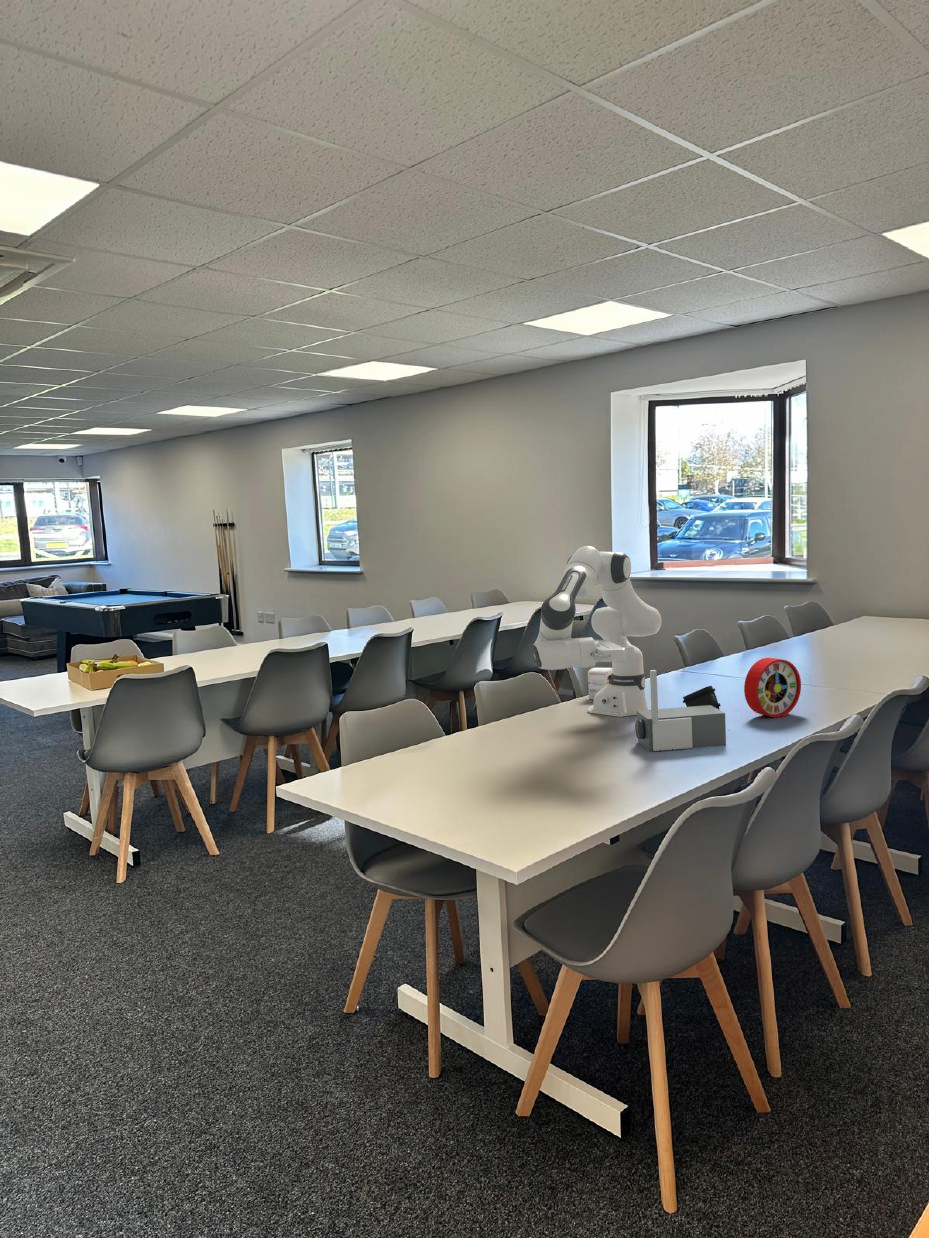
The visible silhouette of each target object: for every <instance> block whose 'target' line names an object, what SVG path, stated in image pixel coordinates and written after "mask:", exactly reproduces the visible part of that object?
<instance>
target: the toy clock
mask: <svg viewBox="0 0 929 1238" xmlns="http://www.w3.org/2000/svg"><path fill="white" fill-rule="evenodd" d="M743 685H744V687H743V692H744V693H743V694H744V698H745V701H746V703H747V705H748V707H749V708H750V709H751V711H753V712H754V713H756V714H759V715H762V716H767V717H771V718H776V717H777V718H781V717H780V716H782V717H785V716H786V715H788V714H789V713H791V711H793V709H795V707H796V706H797V704H798V701H799V699H800V696H801V693H802V692H801V691H802V679H801V676H800V672H799V671H798V669H797V667H796V666H795V664H793V663H792V662H790V661H789V660H786V659H782V658H776V657H763V658H760V659H759V660H757V661H755V663H753V665H752V666H751V667H750V669H748V672H747V674H746V677H745V680H744V683H743Z"/></svg>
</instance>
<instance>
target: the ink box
mask: <svg viewBox="0 0 929 1238" xmlns="http://www.w3.org/2000/svg"><path fill="white" fill-rule="evenodd" d="M612 673H613V667H591V668H590V669H589V670H588V671H587V682H588V683H587V684H588V685H587V686H588V700H590V699H593V701H594V697H595V695H596V694H597V693H598V692H599V691H600V690H601V689H603V688H604V687H605V686H606V685H607V684H609V679H608V680H607V677H608V676H609V675H611V674H612Z"/></svg>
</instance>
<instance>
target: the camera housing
mask: <svg viewBox="0 0 929 1238" xmlns="http://www.w3.org/2000/svg"><path fill="white" fill-rule="evenodd" d="M719 709H720V708H719ZM719 709H717V708H715V707H713V706H711V705H706V706H693V707H687V706H681V707H671V708H660V709H659V708H658V720H666V719H678V718H692V748H691V749H695V748H708V747H709V746H710V747H718V746H719V747H720V746H727V736H726V735H727V732H726V731H727V730H726V726H727V725H726V712H724V711H722V710H721V709H720V710H719ZM634 730H635V731H634V732H635V735H636V738H637V742H638V744H640V745H641V746H642V747H643V748H645V749H646V750H647V749H648V750H649V751H648V750H647V751H648V752H654V751H653V737H652V715H651V709H649V710H642V711H637V715H636V720H635V724H634ZM707 746H708V747H707ZM684 749H687V748H684Z"/></svg>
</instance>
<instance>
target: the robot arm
mask: <svg viewBox="0 0 929 1238" xmlns="http://www.w3.org/2000/svg"><path fill="white" fill-rule="evenodd" d="M631 571H632V563H631V559H630V557H629V556H628V555H627V554H626V553H624V552H620V551H599V550H598V549H597V548H595V547H594V546H590V545H583V546H581V547H579V548H577V549H576V551H575V552H574V553H573V554H572V555H570V556H569V558H568V559H567V561H566V565H565V567H564V570H563V572H562V575H561V578H560V583H559V585H558V586H557V588H556V590H555V591H554V592H553V593H552V595H550V596H549V597H547V598H546V599H545V600H544V601H543V602H542V604H541V608H540V623H539V632H538V635H537V638H536V640H535V642H534V643H533V644H532V646H531V655H532V656H531V657H532V660H533V662H534V664H535V666H536V667H537V668H538V669H542V670H548V671H549V670H551V671H553V670H554V671H555V670H566V669H569V668H576V669H581V668H582V669H583V668H595V667H596V664H597V663H600V662H601V663H611V664H612V665H611V668H613V673H612V674H611V675H609V676H608V677H607V680H608V679H609V684H607V685H606V686H605V687H604V688H603V689H601V690H600V691H599V692H598V693H597V694H596V695H595V697H594V700H593V704H592V705H591V706H589V707H588V708H587V713H590V714H597V715H605V716H612V717H618V718H620V717H629V716H637V711H642V710H650V708H649V704H648V701H647V696H646V690H645V688H646V675H645V672H644V657H643V656H644V655H643V652H642V651H641V650H640V648H638V647H637V646H635V645H634V644H631V642H630V641H629V640H628V637H647V636H652V635H656V634H657V633H658V632H659V631H660V629H661V626H662V621H663V620H662V615H661V614H660V612H659V610H658V609H657V608H655V607H653V606H651V605H649V604H647V603H646V602H645V601H643V600H642V599H641V598H640V597H639V596H638V595H637V593H636V592H635V590H634V587H633V584H632V581H631V578H630V576H631ZM596 585H597V586H598V587H599V591H600V594H601V597H602V600H603V602H604V604H605V605H607V606H603V607H600V608H596V609H595V611H594V612H593V613H592V615H591V620H590V621H591V622H590V623H591V627H592V629H593V632H595V634H597V635H599V636H600V637H601V639H594V638H593V637H592V636H591V637H590V636H589V637H575V638H572V633H573V632H572V630H573V625H574V619H575V616H576V611H577V610H576V603H575V601H576V599H583V598H586V597H588V596H589V595H590V594H591V593H592V591H594V588H595V586H596Z"/></svg>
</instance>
